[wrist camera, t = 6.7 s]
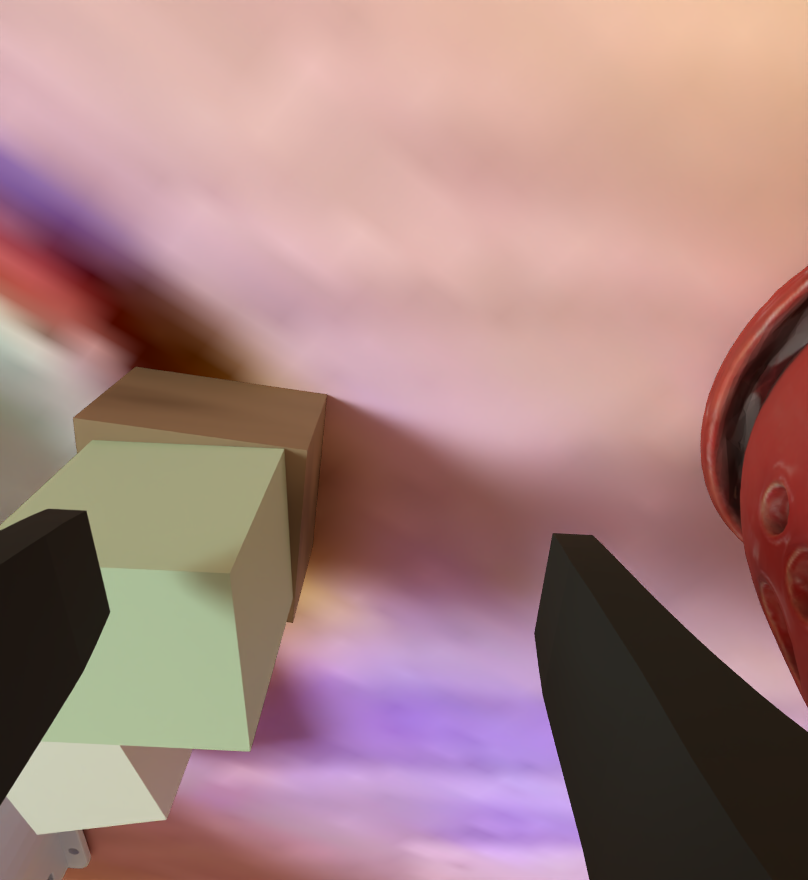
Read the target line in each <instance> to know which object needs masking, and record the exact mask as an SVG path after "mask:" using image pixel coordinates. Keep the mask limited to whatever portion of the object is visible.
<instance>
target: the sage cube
mask: <svg viewBox="0 0 808 880" xmlns="http://www.w3.org/2000/svg"><path fill="white" fill-rule="evenodd" d="M45 509H66V510H86V511H87V515H88V519H89V523H90V528H91V532H92V536H93V540H94V544H95V549H96V553H97V557H98V561H99V566H100V570H101V574H102V578H103V582H104V587H105V591H106V595H107V599H108V604H109V608H110V614H109V617H108V619H107V621H106V624H105V626H104V628H103V630H102V633H101V635H100V637H99V640H98V642H97V644H96V646H95V649H94V651H93V653H92V655H91V657H90V659H89V661H88V663H87V665H86V668H85V670H84V672H83V673H82V675H81V677H80V678H79V680H78V682H77V683H76V685H75V687H74V689H73V690H72V692H71V693H70V695H69V697H68V698H67V700H66V702H65V703H64V705H63V706H62V708H61V710H60V711H59V713H58V715H57V716H56V718H55V719H54V721H53V723H52V724H51V726H50V727H49V729H48V731H47V732H46V734H45V735H44V737H43V739H42V740H41V741H43V742H64V743H84V744H105V745H125V746H146V747H167V748H187V749H208V750H229V751H249V752H250V751H251V747H252V744H253V740H254V737H255V733H256V729H257V726H258V722H259V719H260V715H261V711H262V708H263V704H264V701H265V697H266V693H267V690H268V686H269V683H270V679H271V675H272V672H273V668H274V665H275V661H276V657H277V654H278V650H279V647H280V643H281V639H282V636H283V632H284V629H285V625H286V621H287V618H288V614H289V611H290V607H291V603H292V600H293V590H292V573H291V556H290V538H289V521H288V504H287V487H286V469H285V452H284V449H277V448H255V447H233V446H211V445H189V444H167V443H145V442H123V441H101V440H92V441H91V442H90V443H89V444H88V445H86V446H85V447H84V448H83V449H82V450H81V451H80V452H79V453H78V454H77V455H76V456H75V457H73V458H72V459H71V460H70V461H69V462H68V463H67V464H66V465H65V466H64V467H63V468H62V469H60V470H59V471H58V472H57V473H56V474H55V475H54V476H53V477H52V478H51V479H50V480H49V481H47V482H46V483H45V484H44V485H43V486H42V487H41V488H40V489H39V490H38V491H37V492H36V493H34V494H33V495H32V496H31V497H30V498H29V499H28V500H27V501H26V502H25V503H24V504H23V505H21V506H20V507H19V508H18V509H17V510H16V511H15V512H14V513H13V514H12V515H11V516H10V517H8V518H7V519H6V520H5V521H4V522H3V523H2V524H1V525H0V530H2V529H4V528H6V527H8V526H10V525H12V524H14V523H16V522H18V521H20V520H23V519H25V518H27V517H29V516H31V515H33V514H36V513H38V512H41V511H43V510H45Z"/></svg>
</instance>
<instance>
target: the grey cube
mask: <svg viewBox="0 0 808 880" xmlns="http://www.w3.org/2000/svg"><path fill="white" fill-rule="evenodd" d="M192 750H193V749H187V748H167V747H146V746H125V745H105V744H84V743H64V742H43V741H41V742H40V743H39V745H38V747H37V748H36V750H35V751H34V753H33V754H32V756H31V758H30V759H29V761H28V762H27V764H26V766H25V767H24V769H23V770H22V772H21V774H20V775H19V777H18V778H17V780H16V782H15V783H14V785H13V786H12V788H11V790H10V791H9V793H8V794H7V796H6V797H7V798H8V799H9V800H10V802H11V803H12V804H13V805H14V807H15V808H16V809H17V810H18V812H19V813H20V814H21V815H22V817H23V818H24V819H25V820H26V822H27V823H28V824H29V825H30V827H31V828H32V829H33V830H34V831H35V833H36V834H37V835H39V834H48V833H56V832H65V831H74V830H82V829H91V828H99V827H108V826H117V825H125V824H134V823H142V822H151V821H160V820H167V818H168V815H169V812H170V810H171V807H172V804H173V802H174V799H175V796H176V793H177V791H178V788H179V785H180V783H181V780H182V777H183V774H184V772H185V769H186V766H187V764H188V761H189V758H190V756H191V753H192Z"/></svg>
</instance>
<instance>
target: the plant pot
mask: <svg viewBox="0 0 808 880" xmlns="http://www.w3.org/2000/svg"><path fill="white" fill-rule="evenodd" d="M701 462H702V470H703V474H704V479H705V483H706V487H707V490H708V492H709V495H710V498H711V500H712V502H713V504H714V506H715V508H716V510H717V512H718V513H719V515H720V516H721V518H722V519H723V521H724V522H725V524H726V525H727V526H728V527H729V528H730V530H731V531H732V532H733V533H734V534H735V535H736V536H737V537H738V538H739V539H740V540H741V541H742V542H743V543H744V548H745V554H746V558H747V562H748V565H749V569H750V573H751V576H752V580H753V583H754V586H755V589H756V592H757V595H758V598H759V601H760V604H761V607H762V609H763V612H764V614H765V616H766V619H767V621H768V623H769V626H770V628H771V630H772V632H773V635H774V637H775V639H776V641H777V644H778V646H779V648H780V651H781V653H782V655H783V657H784V659H785V661H786V664H787V666H788V668H789V670H790V672H791V674H792V677H793V679H794V681H795V683H796V685H797V687H798V689H799V692H800V694H801V696H802V698H803V699H804V701H805V703H806V705H807V707H808V266H807V267H806V268H805V269H803V270H802V271H801V272H800V273H798V274H797V275H795V276H794V277H793V278H791V279H790V280H789V281H788V282H787V283H786V284H784V285H783V286H782V287H781V288H780V289H778V290H777V291H776V292H775V293H774V295H773V296H772V297H771V298H770V299H769V300H768V302H767V303H766V304H765V305H764V306H763V307H762V308H761V309H760V310H759V311H758V312H757V313H756V314H755V316H754V317H753V318H752V319H751V320H750V322H749V323H748V324H747V325H746V327H745V328H744V330H743V331H742V332H741V334H740V335H739V337H738V338H737V340H736V341H735V343H734V344H733V346H732V348H731V349H730V351H729V353H728V354H727V356H726V358H725V360H724V361H723V363H722V365H721V367H720V369H719V371H718V373H717V376H716V378H715V381H714V383H713V386H712V388H711V391H710V393H709V396H708V400H707V403H706V408H705V413H704V416H703V422H702V430H701Z"/></svg>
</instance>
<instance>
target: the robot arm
mask: <svg viewBox="0 0 808 880" xmlns="http://www.w3.org/2000/svg"><path fill="white" fill-rule="evenodd" d="M109 614H110V608H109V604H108V599H107V595H106V591H105V587H104V582H103V578H102V574H101V570H100V566H99V561H98V557H97V553H96V549H95V544H94V540H93V536H92V532H91V528H90V523H89V519H88V515H87V511H86V510H66V509H45V510H43V511H41V512H38V513H36V514H33V515H31V516H29V517H27V518H25V519H23V520H20V521H18V522H16V523H14V524H12V525H10V526H8V527H6V528H4V529H2V530H0V880H62V879H63V877H64V875H65V873H66V870H67V868H84V867H87V866H88V864H89V862H90V860H91V854H90V851H89V848H88V845H87V842H86V839H85V836H84V833H83V830H74V831H65V832H56V833H48V834H39V835H37V834H36V833H35V831H34V830H33V829H32V828H31V827H30V825H29V824H28V823H27V822H26V820H25V819H24V818H23V817H22V815H21V814H20V813H19V812H18V810H17V809H16V808H15V807H14V805H13V804H12V803H11V802H10V800H9V799H8V798H7V797H6V796H7V794H8V793H9V791H10V790H11V788H12V786H13V785H14V783H15V782H16V780H17V778H18V777H19V775H20V774H21V772H22V770H23V769H24V767H25V766H26V764H27V762H28V761H29V759H30V758H31V756H32V754H33V753H34V751H35V750H36V748H37V747H38V745H39V743H40V742H41V740H42V739H43V737H44V735H45V734H46V732H47V731H48V729H49V727H50V726H51V724H52V723H53V721H54V719H55V718H56V716H57V715H58V713H59V711H60V710H61V708H62V706H63V705H64V703H65V702H66V700H67V698H68V697H69V695H70V693H71V692H72V690H73V689H74V687H75V685H76V683H77V682H78V680H79V678H80V677H81V675H82V673H83V672H84V670H85V668H86V665H87V663H88V661H89V659H90V657H91V655H92V653H93V651H94V649H95V646H96V644H97V642H98V640H99V637H100V635H101V633H102V630H103V628H104V626H105V624H106V621H107V619H108V617H109ZM534 634H535V642H536V650H537V658H538V666H539V673H540V680H541V686H542V693H543V698H544V702H545V706H546V710H547V714H548V718H549V722H550V726H551V730H552V734H553V738H554V742H555V746H556V749H557V753H558V757H559V761H560V765H561V768H562V772H563V776H564V780H565V784H566V787H567V791H568V795H569V799H570V803H571V807H572V810H573V814H574V818H575V822H576V826H577V829H578V833H579V837H580V841H581V845H582V849H583V853H584V857H585V862H586V866H587V871H588V875H589V880H808V732H807V731H806V730H805V729H803V728H802V727H801V726H799V725H798V724H797V723H795V722H794V721H793V720H792V719H790V718H789V717H788V716H786V715H785V714H784V713H783V712H781V711H780V710H779V709H778V708H776V707H775V706H774V705H773V704H772V703H770V702H769V701H768V700H767V699H765V698H764V697H763V696H762V695H761V694H759V693H758V692H757V691H756V690H755V689H753V688H752V687H751V686H750V685H749V684H748V683H747V682H745V681H744V680H743V679H742V678H741V677H740V676H738V675H737V674H736V673H735V672H734V671H733V670H732V669H730V668H729V667H728V666H727V665H726V664H725V663H724V662H722V661H721V660H720V659H719V658H718V657H717V656H716V655H714V654H713V653H712V652H711V651H710V650H709V649H708V648H707V647H706V646H705V645H704V644H702V643H701V642H700V641H699V640H698V639H697V638H696V637H695V636H694V635H693V634H692V633H691V632H689V631H688V630H687V629H686V628H685V627H684V626H683V625H682V624H681V623H680V622H679V621H678V620H677V619H676V618H675V617H674V616H673V615H672V614H671V613H670V612H669V611H668V610H667V609H665V608H664V607H663V606H662V605H661V604H660V603H659V602H658V601H657V600H656V599H655V598H654V597H653V596H652V595H651V594H650V593H649V592H648V591H647V590H646V589H645V588H644V587H643V586H642V585H641V584H640V583H639V582H638V581H637V579H636V578H635V577H634V576H633V575H632V574H631V573H630V572H629V571H628V570H627V569H626V568H625V567H624V566H623V565H622V564H621V563H620V562H619V561H618V560H617V559H616V558H615V557H614V556H613V555H612V554H611V553H610V552H609V551H608V550H607V549H606V548H605V547H604V546H603V545H602V544H601V543H600V542H599V541H598V540H597V539H596V538H595V537H594V536H593V535H577V534H556V533H553V535H552V540H551V545H550V551H549V556H548V562H547V567H546V573H545V578H544V584H543V589H542V594H541V600H540V605H539V611H538V616H537V622H536V627H535V633H534Z"/></svg>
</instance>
